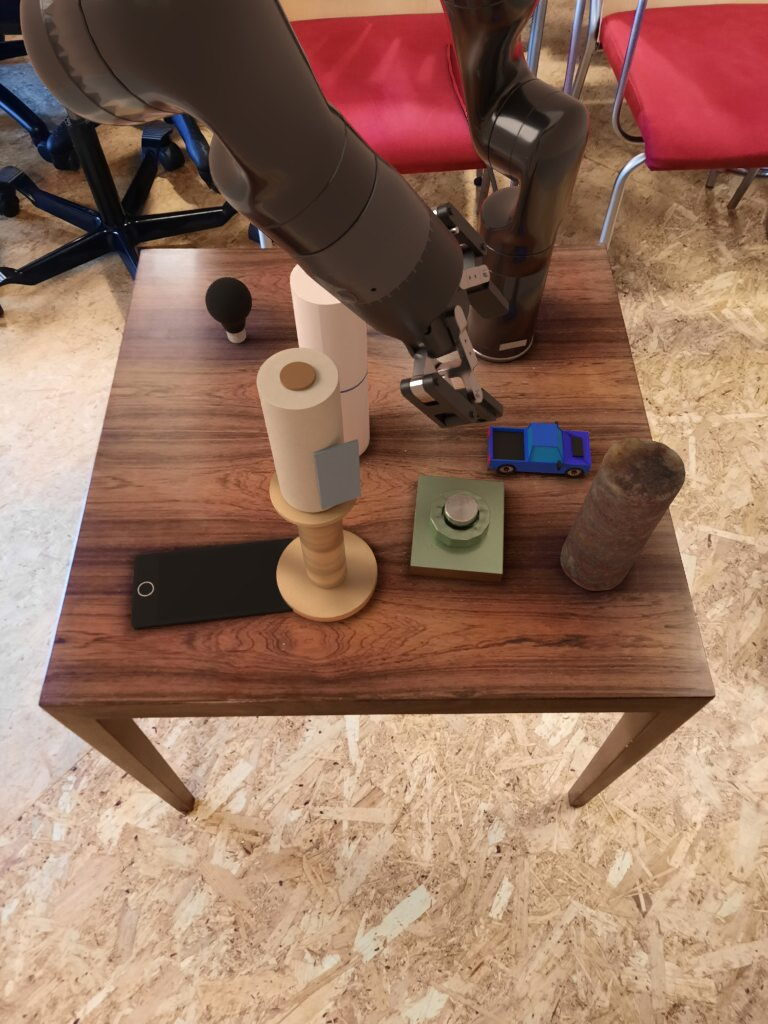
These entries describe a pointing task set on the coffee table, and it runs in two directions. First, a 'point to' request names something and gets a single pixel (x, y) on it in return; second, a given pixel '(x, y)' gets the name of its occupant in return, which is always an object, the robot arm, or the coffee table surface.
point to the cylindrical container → (336, 348)
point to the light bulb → (229, 306)
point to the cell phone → (207, 584)
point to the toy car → (538, 450)
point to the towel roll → (308, 430)
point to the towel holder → (323, 563)
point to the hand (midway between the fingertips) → (494, 362)
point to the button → (460, 511)
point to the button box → (458, 531)
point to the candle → (621, 512)
